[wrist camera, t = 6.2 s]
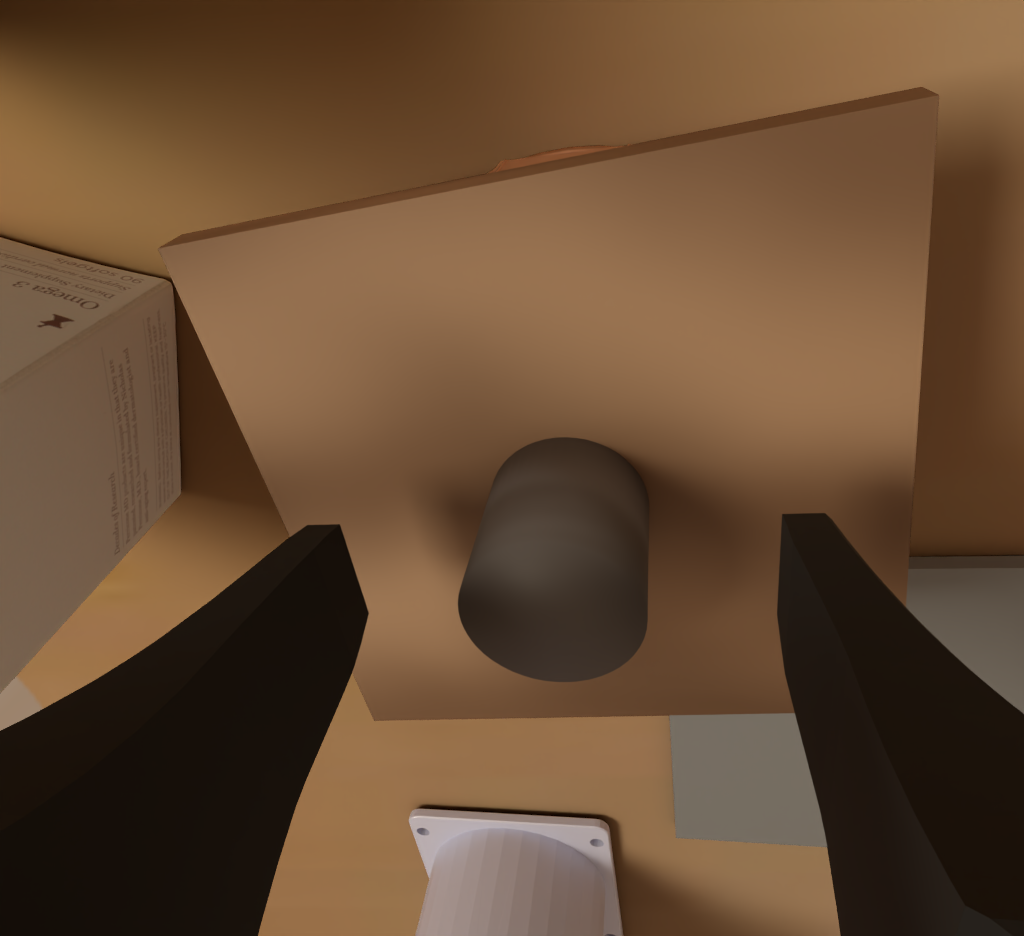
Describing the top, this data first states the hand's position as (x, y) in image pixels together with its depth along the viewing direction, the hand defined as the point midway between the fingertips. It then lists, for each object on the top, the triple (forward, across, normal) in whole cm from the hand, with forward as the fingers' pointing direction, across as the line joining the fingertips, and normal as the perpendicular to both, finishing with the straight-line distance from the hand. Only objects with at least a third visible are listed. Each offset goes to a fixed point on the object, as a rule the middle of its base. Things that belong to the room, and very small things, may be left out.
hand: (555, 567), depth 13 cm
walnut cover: (+3, 0, 0) cm, 3 cm away
